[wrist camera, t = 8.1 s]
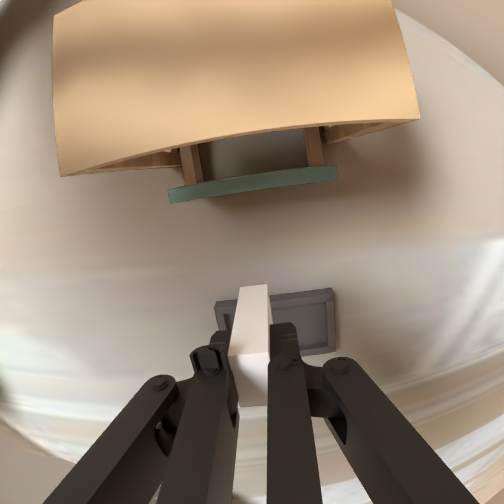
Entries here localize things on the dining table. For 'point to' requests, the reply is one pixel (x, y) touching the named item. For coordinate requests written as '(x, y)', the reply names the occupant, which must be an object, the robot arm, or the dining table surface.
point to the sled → (252, 181)
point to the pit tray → (295, 318)
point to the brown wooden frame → (220, 75)
